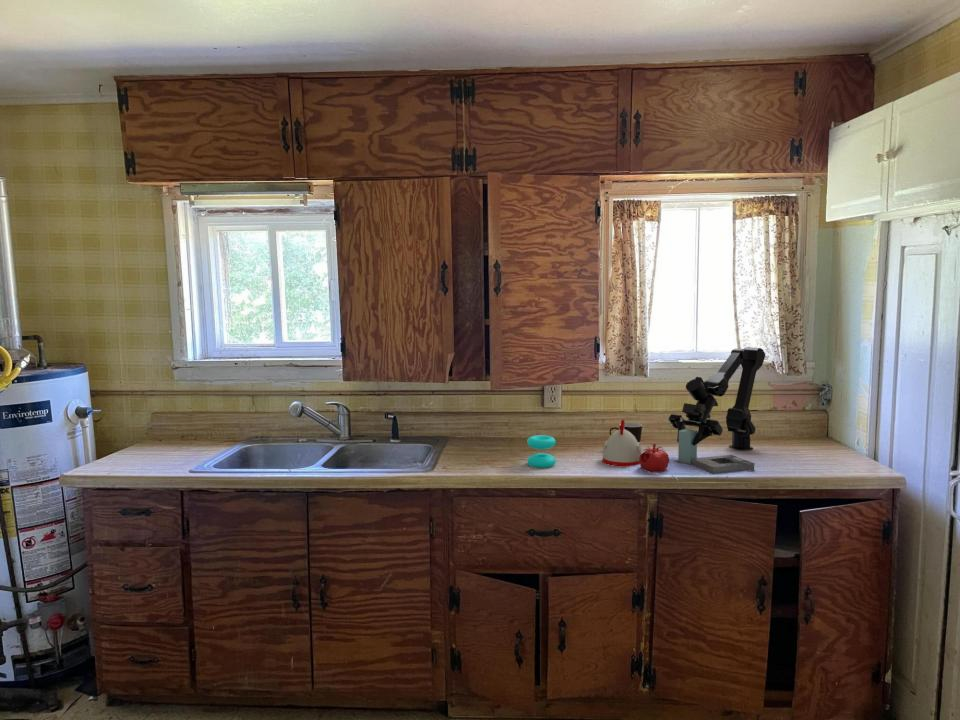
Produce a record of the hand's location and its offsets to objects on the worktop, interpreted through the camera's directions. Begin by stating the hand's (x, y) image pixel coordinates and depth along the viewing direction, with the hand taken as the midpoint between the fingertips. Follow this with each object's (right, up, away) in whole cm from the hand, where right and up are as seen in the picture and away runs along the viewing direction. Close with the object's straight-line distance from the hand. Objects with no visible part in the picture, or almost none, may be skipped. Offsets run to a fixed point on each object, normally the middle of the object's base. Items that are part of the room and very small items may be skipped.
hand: (685, 443), depth 219 cm
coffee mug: (-16, -5, +21) cm, 27 cm away
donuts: (-51, -8, +2) cm, 51 cm away
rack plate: (+11, -7, -6) cm, 14 cm away
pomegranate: (-13, -8, -7) cm, 17 cm away
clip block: (+1, -6, +2) cm, 7 cm away
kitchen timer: (-21, -7, +4) cm, 23 cm away
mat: (+1, -7, +2) cm, 7 cm away
